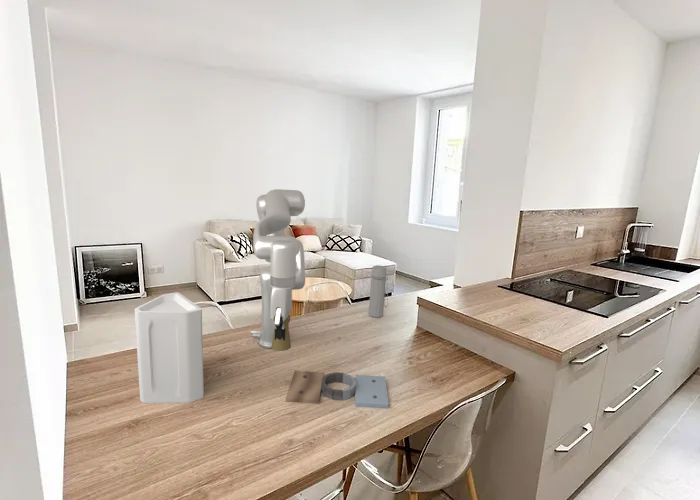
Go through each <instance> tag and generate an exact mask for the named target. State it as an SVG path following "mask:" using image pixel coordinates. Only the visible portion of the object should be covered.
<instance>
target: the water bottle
mask: <svg viewBox="0 0 700 500" xmlns="http://www.w3.org/2000/svg"><path fill="white" fill-rule="evenodd" d="M388 279H389V277H388V276H387V267H386V266H384V265H379V264H378V265H373V266H372V270H371V277H370V291H369V292H370V293H369V304H368V315H369V316H370V317H371V318H375V317H376V318H382V316H384V308H388V305H389V302H387V304H386V305H385V302H386V299H385V297H387V299H389V293H388V292H389V291H388V282H387V281H388ZM386 292H387V293H386ZM386 294H387V295H386Z"/></svg>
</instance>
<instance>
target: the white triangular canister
mask: <svg viewBox="0 0 700 500" xmlns="http://www.w3.org/2000/svg"><path fill="white" fill-rule="evenodd" d="M134 321H135V322H134V325H135V335H136V355H137V369H138V370H137V373H138V384H139V385H138V387H139V388H138V389H139V400H140V402H141V403H142V404H188V403H189V404H190V403H192V402H195V401H198V400H201V399H203V398H204V397H205V393H204V392H205V391H204V390H205V389H204V355H203V354H204V353H203V351H204V350H203V346H204V345H203V343H204V342H203V308H201V307H200V306H198V305H197V304H196V303H195V302H193V301H192V300H190V299H189V298H187V297H186V296H185V295H184V294H182V293H180V292H179V291H176V292H171V293H164V294H161V295H159V296H156V298H153V299H151V300H149V301H147V302H145V303H144V304H141V305H139V306H138V307H135V308H134Z"/></svg>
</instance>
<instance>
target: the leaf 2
mask: <svg viewBox="0 0 700 500" xmlns="http://www.w3.org/2000/svg"><path fill="white" fill-rule="evenodd" d="M343 373H344V374H343V384H345V385H348V386H349V387H347V388H344V389H341V390H342V400H341V401H345V400H348V399H352V397H353V396H355V397H354V399H355V400H354V407H361V408H362V407H364V408H373V409H374V408H376V409H379V408H380V409H389V398H388V391H387V384H386V376H382V375H370V374H369V375H366V374H355V377H354V376H352V375H350V374H349V373H345V372H343Z"/></svg>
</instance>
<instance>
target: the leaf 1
mask: <svg viewBox="0 0 700 500" xmlns="http://www.w3.org/2000/svg"><path fill="white" fill-rule="evenodd" d="M344 373H345V372H336V371H335V372H332V373H331V372H330V373H327V374H326V375H324V371H323V372H319V371H307V370H294V372H293V375H292V377H291V381H290V385H289V388H288V391H287V393H286V396H285V402H286V403H287V402H288V403H300V404H301V403H303V404H317V405H319V404H320V400H321V399H320V398H321V394H322V395H323V396H324V397H326V398H327V399H329V400H333V401H343V400H342V390H343V389H338V388H337V389H335V388H332V387H330V386H328V385H329V384H334V383H343V374H344ZM343 384H344V383H343Z"/></svg>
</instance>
